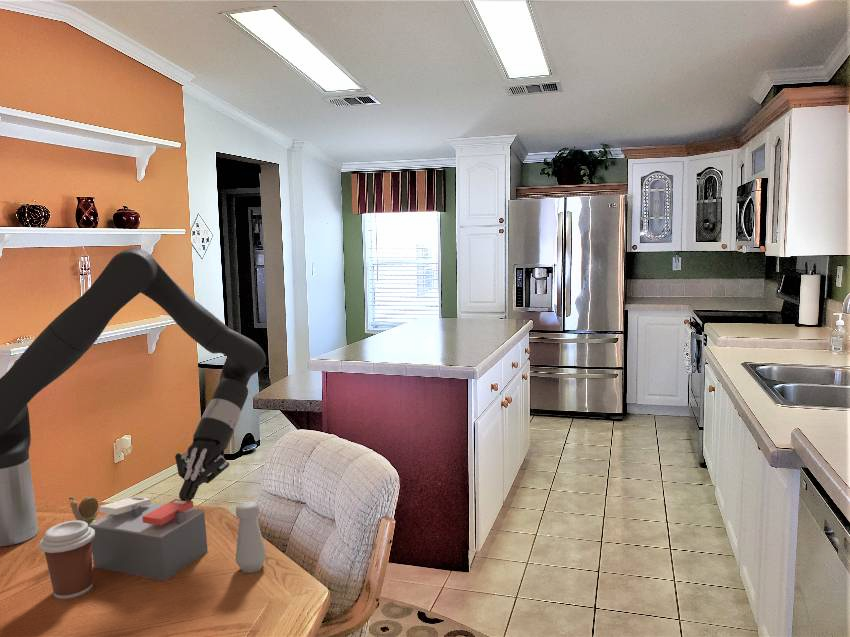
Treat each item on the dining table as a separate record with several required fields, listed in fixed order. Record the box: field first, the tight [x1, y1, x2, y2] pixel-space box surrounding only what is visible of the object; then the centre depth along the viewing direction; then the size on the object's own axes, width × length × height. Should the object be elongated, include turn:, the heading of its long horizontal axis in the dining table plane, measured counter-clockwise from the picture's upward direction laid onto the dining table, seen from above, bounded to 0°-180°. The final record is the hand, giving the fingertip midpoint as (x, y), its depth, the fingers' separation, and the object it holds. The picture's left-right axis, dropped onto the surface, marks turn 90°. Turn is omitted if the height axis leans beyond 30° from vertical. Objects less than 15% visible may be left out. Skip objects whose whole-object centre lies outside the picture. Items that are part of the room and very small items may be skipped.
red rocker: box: [142, 498, 194, 525], centre depth 129 cm, size 4×9×1 cm, turn 159°
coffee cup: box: [38, 520, 95, 600], centre depth 121 cm, size 9×9×12 cm
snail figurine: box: [68, 496, 99, 527], centre depth 139 cm, size 5×6×12 cm
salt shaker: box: [235, 501, 267, 574], centre depth 126 cm, size 6×6×13 cm
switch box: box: [89, 502, 209, 582], centre depth 132 cm, size 18×12×11 cm, turn 69°
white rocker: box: [98, 496, 152, 515], centre depth 133 cm, size 4×9×1 cm, turn 159°
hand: (184, 500), depth 133 cm, fingers closed
